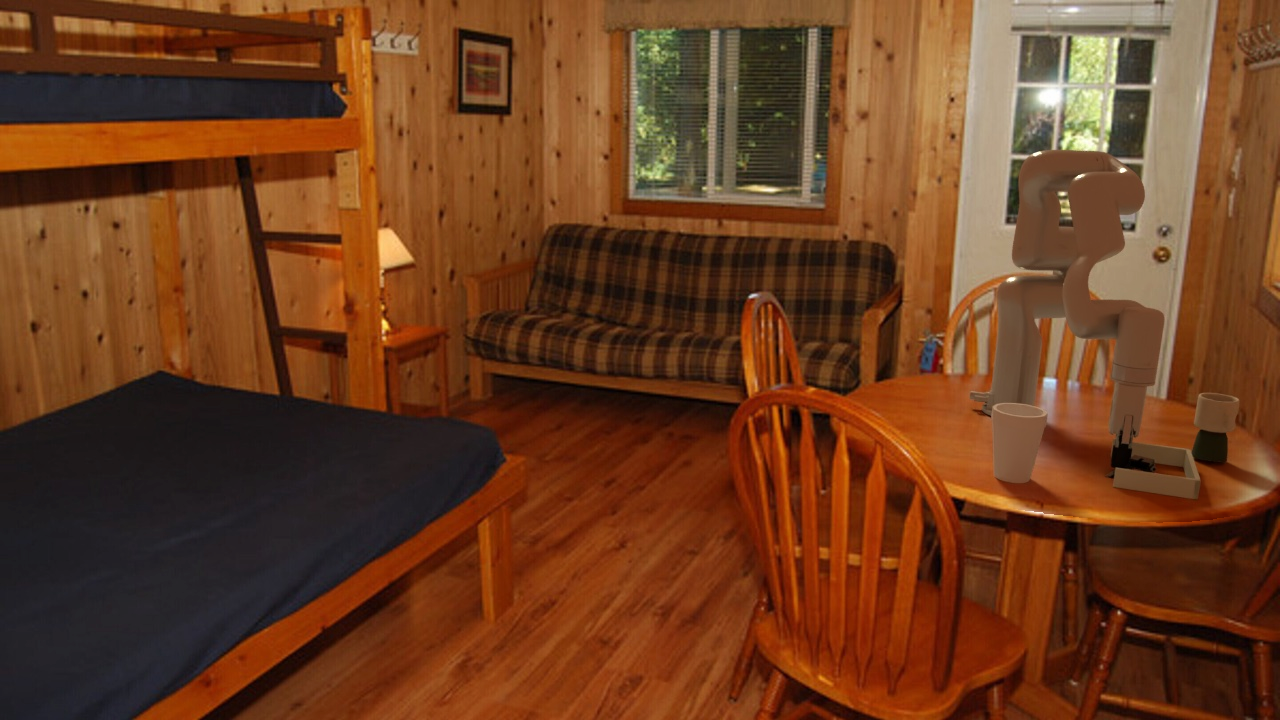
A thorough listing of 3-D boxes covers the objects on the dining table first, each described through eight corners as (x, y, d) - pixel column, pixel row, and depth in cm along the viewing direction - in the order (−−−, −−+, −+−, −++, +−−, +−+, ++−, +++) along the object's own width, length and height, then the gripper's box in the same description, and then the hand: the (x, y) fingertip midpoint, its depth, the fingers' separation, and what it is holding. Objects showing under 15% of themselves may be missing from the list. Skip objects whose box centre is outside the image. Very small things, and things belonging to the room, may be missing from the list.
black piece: (1097, 478, 187) (1100, 455, 186) (1111, 469, 192) (1114, 446, 191) (1168, 495, 178) (1172, 471, 177) (1180, 486, 184) (1184, 462, 183)
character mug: (1242, 470, 192) (1253, 405, 188) (1204, 469, 192) (1215, 404, 189) (1212, 452, 202) (1222, 390, 199) (1176, 450, 202) (1186, 389, 199)
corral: (1113, 486, 181) (1115, 468, 180) (1110, 455, 198) (1113, 439, 197) (1197, 499, 175) (1200, 480, 175) (1187, 466, 193) (1190, 449, 192)
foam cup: (996, 485, 180) (1004, 416, 177) (977, 468, 189) (984, 402, 186) (1047, 486, 180) (1056, 417, 177) (1026, 469, 189) (1034, 403, 186)
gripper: (1110, 363, 193) (1097, 453, 197) (1112, 380, 179) (1098, 476, 184) (1153, 367, 190) (1139, 459, 194) (1158, 385, 176) (1143, 483, 181)
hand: (1119, 467), depth 189 cm, fingers closed
